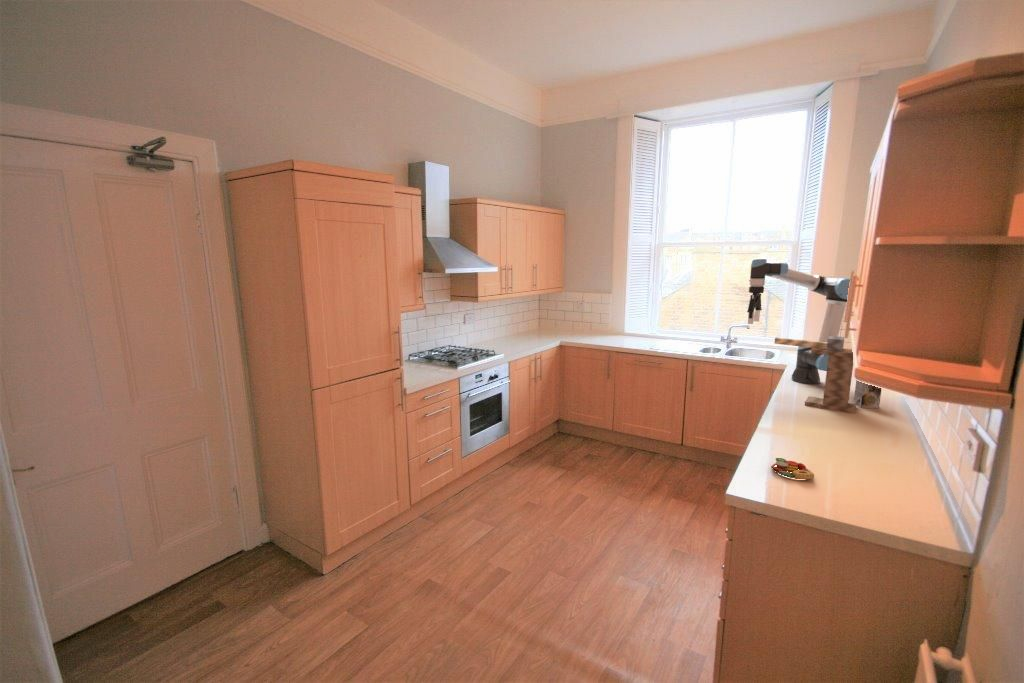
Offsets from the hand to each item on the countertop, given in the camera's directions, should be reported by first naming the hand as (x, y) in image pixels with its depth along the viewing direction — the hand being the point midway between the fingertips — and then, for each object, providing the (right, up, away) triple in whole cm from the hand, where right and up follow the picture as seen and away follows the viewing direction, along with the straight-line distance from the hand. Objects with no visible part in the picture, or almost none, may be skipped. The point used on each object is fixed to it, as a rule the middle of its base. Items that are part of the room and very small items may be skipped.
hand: (753, 322), depth 268 cm
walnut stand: (+25, -45, -29) cm, 59 cm away
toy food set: (-40, -59, -101) cm, 124 cm away
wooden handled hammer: (+14, -14, -26) cm, 33 cm away
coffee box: (+43, -45, -29) cm, 69 cm away
